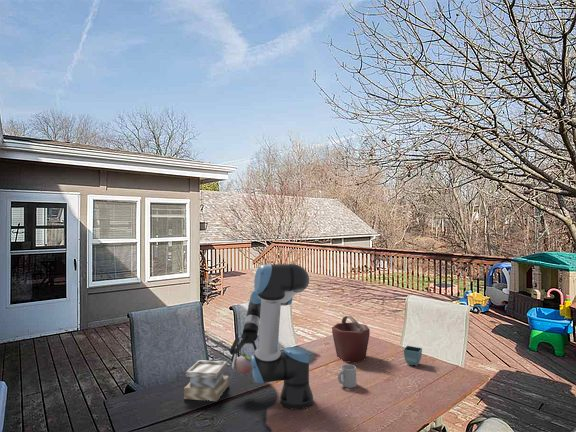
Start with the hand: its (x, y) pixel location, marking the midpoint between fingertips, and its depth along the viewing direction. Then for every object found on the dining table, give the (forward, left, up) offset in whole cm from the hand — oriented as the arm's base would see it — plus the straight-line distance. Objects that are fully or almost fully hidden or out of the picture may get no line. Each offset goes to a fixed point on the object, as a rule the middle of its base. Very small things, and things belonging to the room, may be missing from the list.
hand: (243, 368), depth 162 cm
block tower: (+19, -2, -13) cm, 23 cm away
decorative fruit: (0, -3, -4) cm, 5 cm away
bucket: (-51, -59, -13) cm, 80 cm away
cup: (-48, -19, -13) cm, 54 cm away
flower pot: (-87, -53, -13) cm, 103 cm away
